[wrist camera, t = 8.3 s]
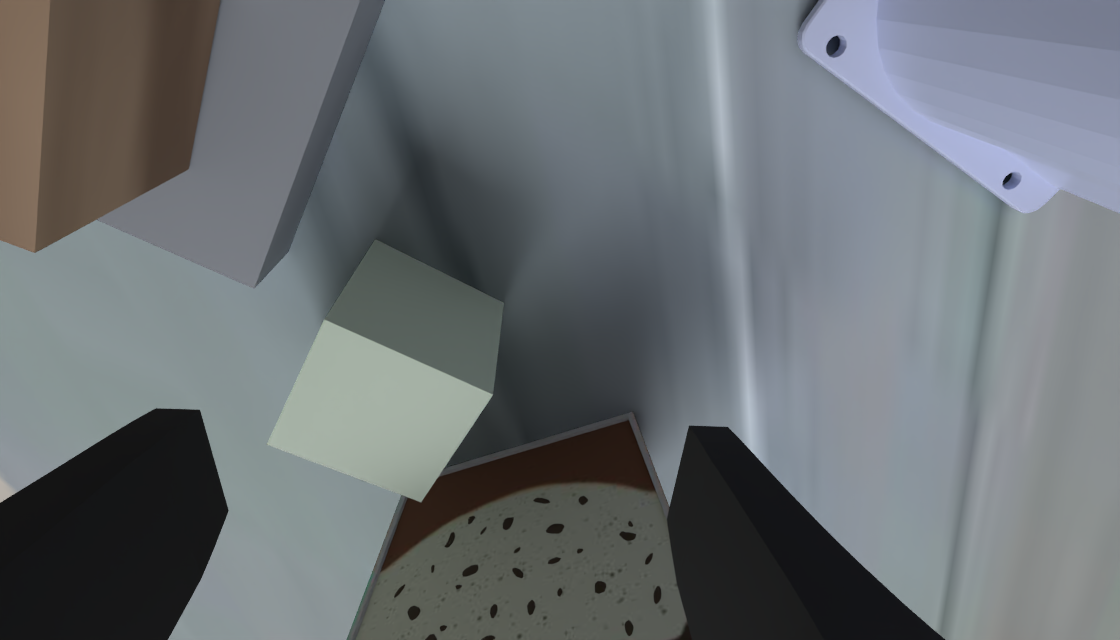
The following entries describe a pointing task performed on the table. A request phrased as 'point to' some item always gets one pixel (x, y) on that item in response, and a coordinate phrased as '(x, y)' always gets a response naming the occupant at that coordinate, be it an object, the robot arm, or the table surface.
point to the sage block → (394, 375)
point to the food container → (532, 548)
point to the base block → (257, 134)
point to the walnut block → (94, 107)
